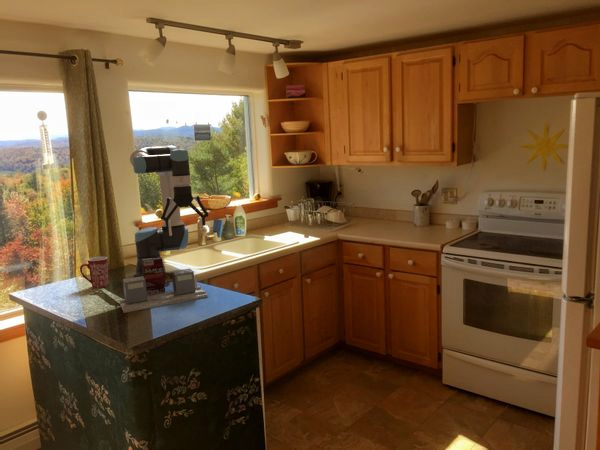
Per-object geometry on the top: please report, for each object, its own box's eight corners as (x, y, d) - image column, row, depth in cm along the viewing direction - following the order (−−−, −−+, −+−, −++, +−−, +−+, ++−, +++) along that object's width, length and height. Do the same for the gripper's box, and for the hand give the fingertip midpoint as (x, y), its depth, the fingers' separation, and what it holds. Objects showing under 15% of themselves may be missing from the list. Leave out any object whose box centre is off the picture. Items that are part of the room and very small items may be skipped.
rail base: (119, 304, 211) (116, 278, 209) (199, 289, 225) (196, 265, 224) (123, 312, 199) (120, 285, 197) (207, 297, 214) (205, 271, 212)
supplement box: (146, 296, 220) (142, 261, 217) (144, 293, 224) (140, 259, 222) (166, 293, 224) (162, 258, 221) (164, 290, 228) (160, 256, 225)
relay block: (182, 288, 229) (181, 276, 228) (192, 286, 232) (191, 273, 231) (186, 291, 225) (185, 278, 224) (197, 288, 228) (196, 275, 227)
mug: (109, 282, 248) (105, 255, 246) (112, 286, 240) (108, 258, 238) (81, 286, 242) (77, 259, 240) (83, 291, 234) (79, 263, 232)
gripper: (151, 188, 211) (156, 237, 214) (211, 184, 214) (215, 233, 218) (153, 186, 218) (158, 234, 222) (211, 183, 221) (215, 230, 225)
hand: (186, 234), depth 220 cm, fingers open, 13 cm apart
